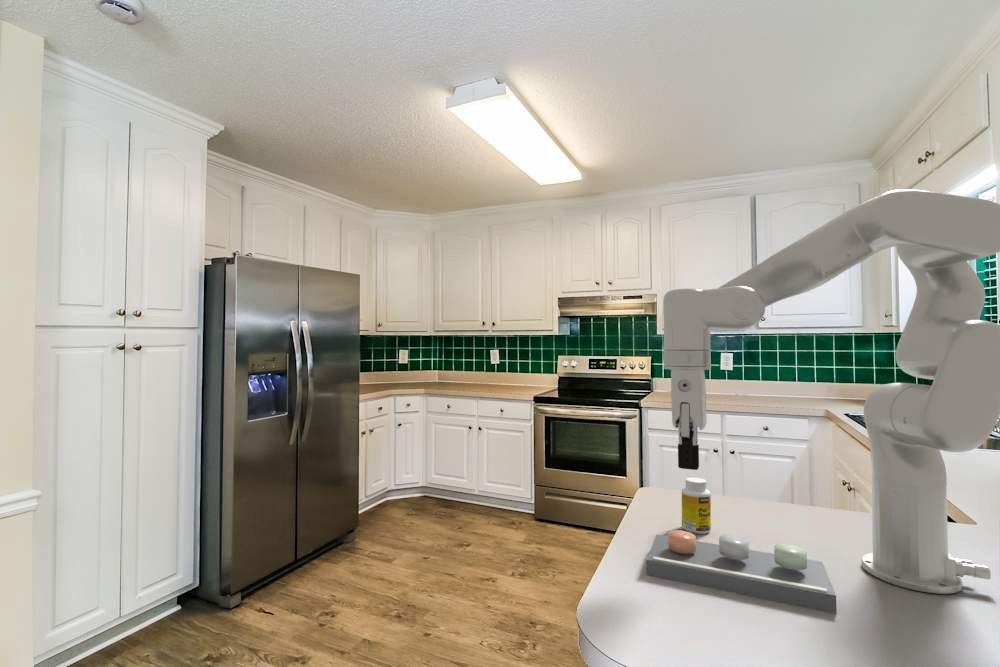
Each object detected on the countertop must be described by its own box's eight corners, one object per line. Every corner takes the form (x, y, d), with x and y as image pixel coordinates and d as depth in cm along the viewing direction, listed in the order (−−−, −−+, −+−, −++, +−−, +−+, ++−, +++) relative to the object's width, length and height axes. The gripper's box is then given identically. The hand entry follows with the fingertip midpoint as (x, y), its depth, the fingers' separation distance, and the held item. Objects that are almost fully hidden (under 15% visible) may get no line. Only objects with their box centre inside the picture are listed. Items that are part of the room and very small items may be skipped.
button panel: (822, 577, 79) (822, 560, 79) (836, 613, 68) (836, 593, 68) (656, 547, 90) (656, 532, 90) (646, 575, 79) (646, 558, 79)
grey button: (748, 551, 80) (748, 537, 80) (749, 561, 76) (749, 547, 76) (719, 546, 82) (719, 533, 82) (718, 556, 78) (718, 542, 78)
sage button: (805, 560, 77) (804, 546, 77) (809, 572, 73) (808, 557, 73) (773, 555, 79) (773, 541, 79) (775, 566, 75) (775, 552, 75)
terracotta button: (696, 545, 84) (696, 533, 84) (694, 555, 80) (694, 542, 80) (670, 541, 86) (670, 528, 86) (666, 550, 82) (666, 537, 82)
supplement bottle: (700, 537, 95) (699, 485, 96) (676, 528, 100) (675, 478, 100) (716, 531, 98) (716, 480, 99) (692, 523, 103) (692, 474, 103)
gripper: (708, 362, 75) (710, 481, 74) (712, 359, 88) (714, 461, 88) (657, 361, 78) (659, 476, 78) (669, 359, 91) (671, 457, 91)
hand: (688, 467), depth 83 cm, fingers closed
